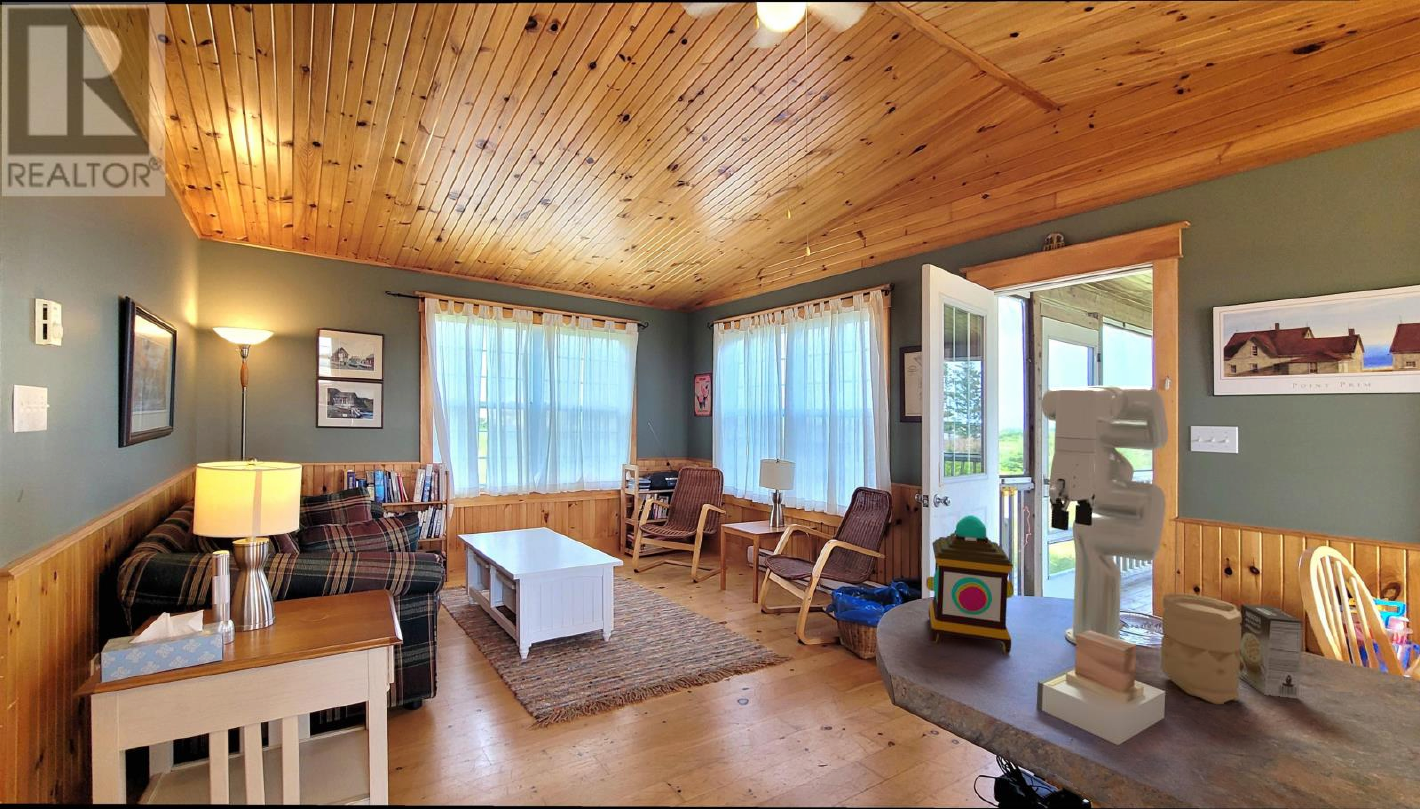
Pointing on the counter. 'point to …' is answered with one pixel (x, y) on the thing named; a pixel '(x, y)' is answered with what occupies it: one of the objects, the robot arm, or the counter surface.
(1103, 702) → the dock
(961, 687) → the counter surface
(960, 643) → the counter surface
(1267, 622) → the coffee box
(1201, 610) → the container
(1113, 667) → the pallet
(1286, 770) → the counter surface
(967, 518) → the decorative lantern
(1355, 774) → the counter surface
